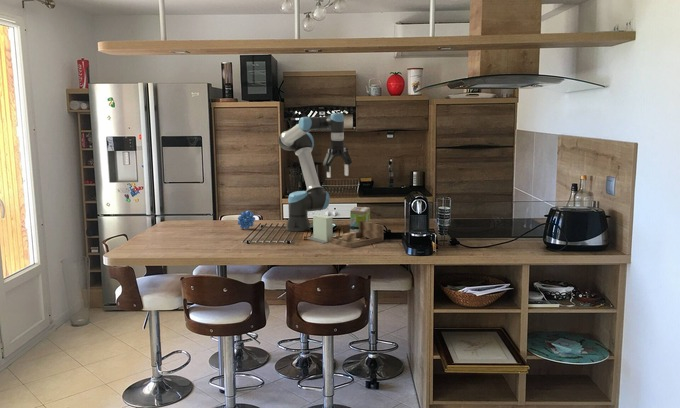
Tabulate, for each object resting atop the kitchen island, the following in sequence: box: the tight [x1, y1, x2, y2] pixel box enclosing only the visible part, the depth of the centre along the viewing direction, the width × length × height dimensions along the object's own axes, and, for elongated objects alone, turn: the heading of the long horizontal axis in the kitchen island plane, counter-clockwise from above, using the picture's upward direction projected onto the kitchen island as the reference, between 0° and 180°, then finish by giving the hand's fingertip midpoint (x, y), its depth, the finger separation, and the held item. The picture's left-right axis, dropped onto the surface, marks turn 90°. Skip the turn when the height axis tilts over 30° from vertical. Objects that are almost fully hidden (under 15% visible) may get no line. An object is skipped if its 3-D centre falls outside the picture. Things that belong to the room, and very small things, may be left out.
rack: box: [328, 221, 384, 249], centre depth 315 cm, size 18×25×9 cm
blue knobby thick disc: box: [237, 209, 256, 230], centre depth 352 cm, size 12×7×12 cm, turn 79°
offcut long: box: [338, 237, 361, 243], centre depth 313 cm, size 12×3×3 cm, turn 74°
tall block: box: [312, 214, 334, 241], centre depth 321 cm, size 12×4×13 cm, turn 40°
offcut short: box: [341, 231, 357, 240], centre depth 312 cm, size 8×3×3 cm, turn 137°
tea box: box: [349, 206, 371, 233], centre depth 338 cm, size 15×10×15 cm, turn 168°
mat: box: [305, 236, 330, 244], centre depth 322 cm, size 16×12×1 cm
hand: (337, 176), depth 329 cm, fingers open, 13 cm apart
